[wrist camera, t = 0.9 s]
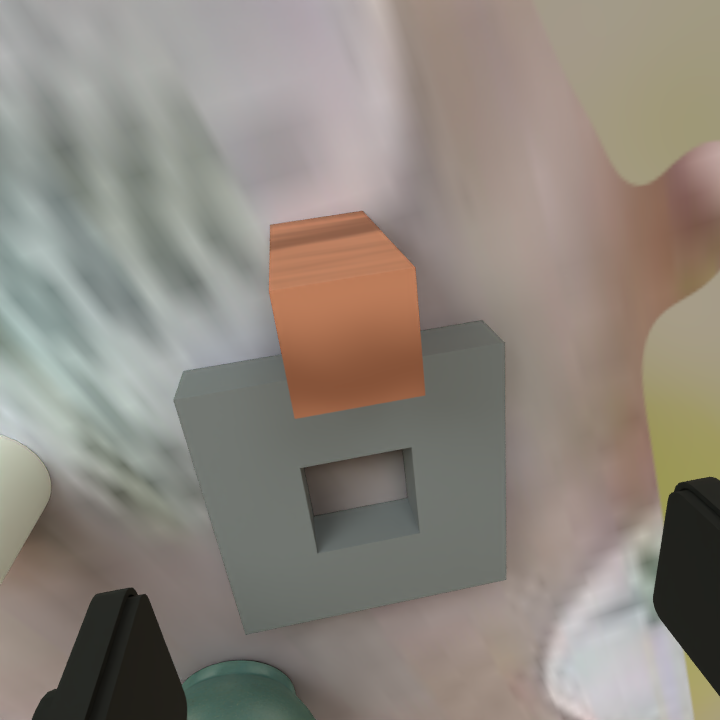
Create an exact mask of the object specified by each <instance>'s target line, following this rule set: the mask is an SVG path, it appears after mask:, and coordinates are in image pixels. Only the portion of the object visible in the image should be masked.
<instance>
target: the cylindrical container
mask: <svg viewBox="0 0 720 720" xmlns="http://www.w3.org/2000/svg"><path fill="white" fill-rule="evenodd" d="M50 494H51V480H50V476H49V473H48V471H47V469H46V467H45V465H44V464H43V462H42V461H41V460H40V459H39V458H38V456H37V455H36V454H34V453H33V452H32V451H31V450H30V449H28V448H27V447H26V446H24V445H22V444H21V443H19V442H17V441H15V440H13V439H10V438H8V437H5V436H3V435H0V585H1V583H2V581H3V580H4V578H5V576H6V575H7V573H8V571H9V569H10V568H11V566H12V564H13V562H14V561H15V559H16V557H17V555H18V554H19V552H20V550H21V548H22V547H23V545H24V543H25V542H26V540H27V538H28V536H29V535H30V533H31V531H32V529H33V528H34V526H35V524H36V522H37V521H38V519H39V517H40V515H41V514H42V512H43V510H44V509H45V507H46V505H47V503H48V501H49V499H50Z"/></svg>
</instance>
